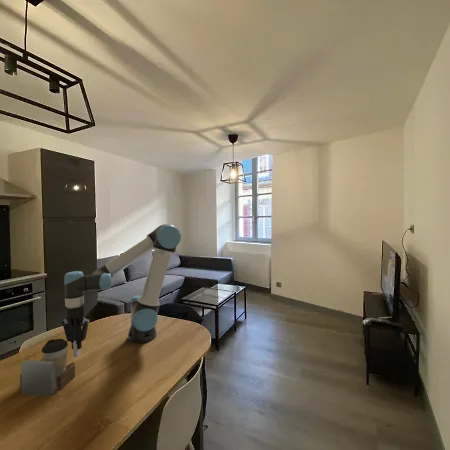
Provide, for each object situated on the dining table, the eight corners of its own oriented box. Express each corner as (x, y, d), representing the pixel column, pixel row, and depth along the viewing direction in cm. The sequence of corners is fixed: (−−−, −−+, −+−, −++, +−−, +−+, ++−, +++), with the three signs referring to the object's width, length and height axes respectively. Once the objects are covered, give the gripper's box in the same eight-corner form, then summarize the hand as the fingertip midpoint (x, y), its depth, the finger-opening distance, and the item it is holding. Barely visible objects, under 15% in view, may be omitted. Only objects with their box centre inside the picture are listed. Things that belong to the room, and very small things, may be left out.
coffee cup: (73, 373, 107) (72, 338, 107) (51, 386, 99) (50, 349, 99) (59, 368, 111) (58, 335, 111) (37, 380, 103) (36, 344, 102)
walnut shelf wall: (89, 363, 115) (89, 350, 115) (59, 391, 96) (58, 376, 96) (57, 361, 116) (56, 348, 116) (20, 389, 97) (19, 374, 97)
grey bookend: (55, 392, 96) (55, 361, 95) (51, 396, 94) (51, 364, 93) (26, 390, 97) (25, 360, 96) (21, 394, 95) (21, 363, 94)
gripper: (93, 302, 119) (95, 351, 120) (67, 302, 120) (69, 350, 121) (83, 308, 112) (85, 360, 112) (55, 308, 113) (57, 359, 113)
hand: (77, 355), depth 117 cm, fingers closed
